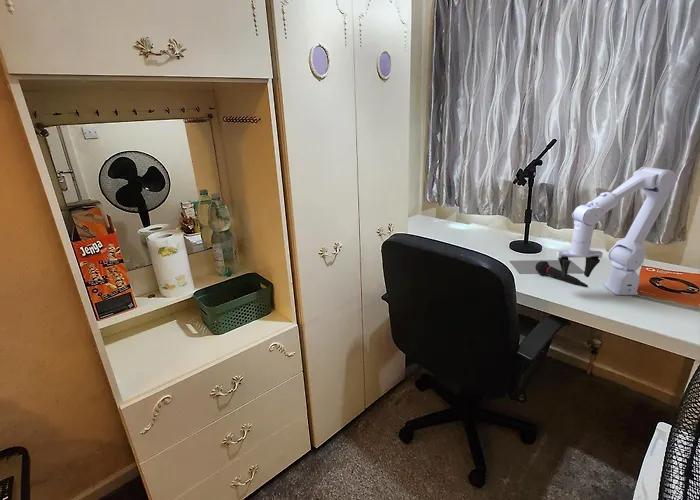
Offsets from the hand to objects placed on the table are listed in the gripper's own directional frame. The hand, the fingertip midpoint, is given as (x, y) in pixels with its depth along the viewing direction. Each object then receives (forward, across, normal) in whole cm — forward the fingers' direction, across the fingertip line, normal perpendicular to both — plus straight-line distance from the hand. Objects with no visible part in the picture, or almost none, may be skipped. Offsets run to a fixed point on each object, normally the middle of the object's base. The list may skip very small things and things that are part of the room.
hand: (575, 276), depth 137 cm
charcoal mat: (+7, 0, -25) cm, 26 cm away
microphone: (+7, 0, -12) cm, 14 cm away
